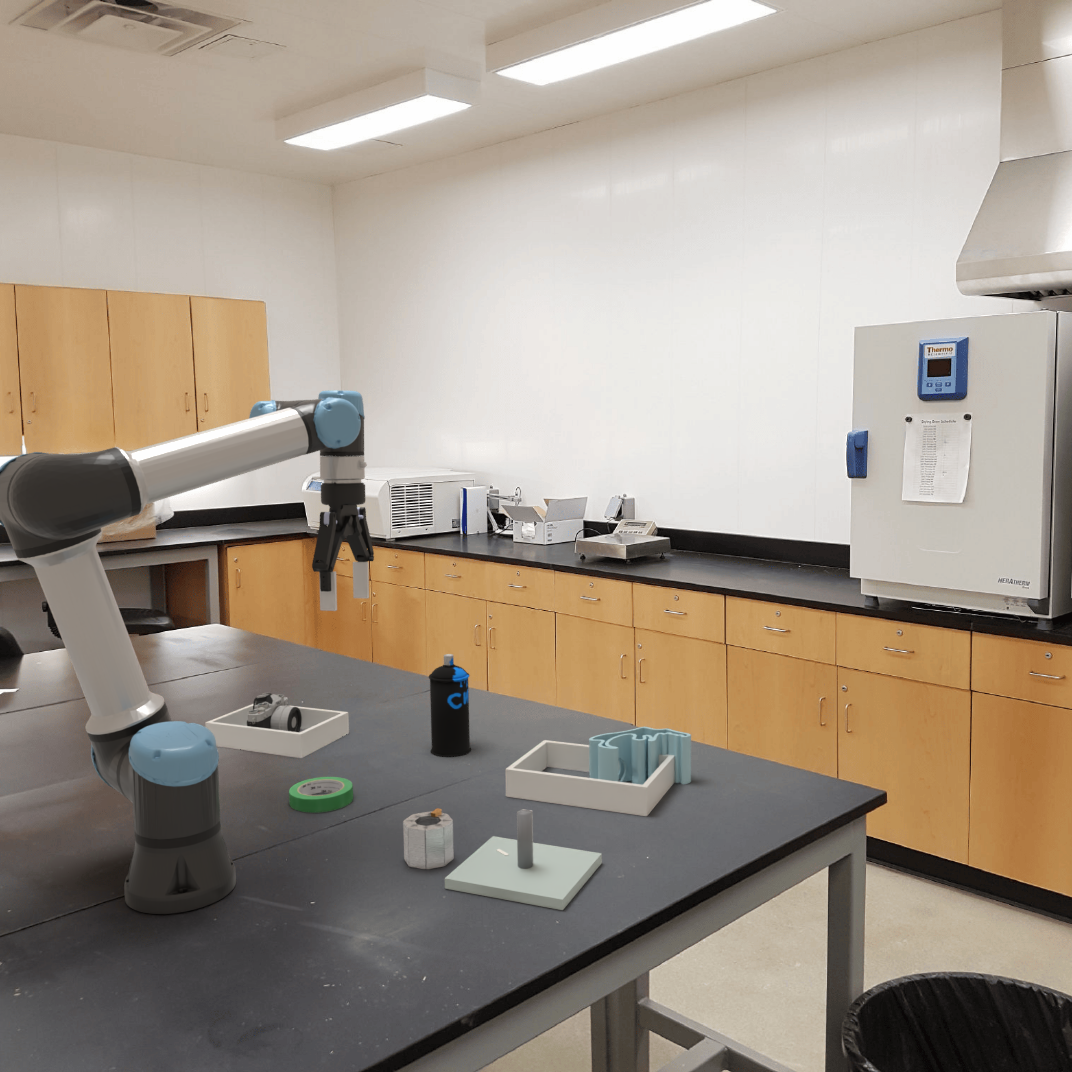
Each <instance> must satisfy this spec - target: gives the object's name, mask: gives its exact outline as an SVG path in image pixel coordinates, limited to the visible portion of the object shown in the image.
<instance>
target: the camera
mask: <svg viewBox="0 0 1072 1072" xmlns="http://www.w3.org/2000/svg"><path fill="white" fill-rule="evenodd" d="M252 704H253V710H250V711H249V713H248V720H247V726H251V727H259V728H267V729H275V730H283V731H291V732H299V733H300V732H301V729H300V728H301V723H302V716H301V711H300V709H299V708H298V707H299V706H298V707H290V706H291V705H289V699H288V697H286V696H285V694H274V693H271V691H269V692H264V693H261V694H260V695H257V696H256V697H255V698H254V700H253V703H252ZM288 705H289V706H288Z"/></svg>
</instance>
